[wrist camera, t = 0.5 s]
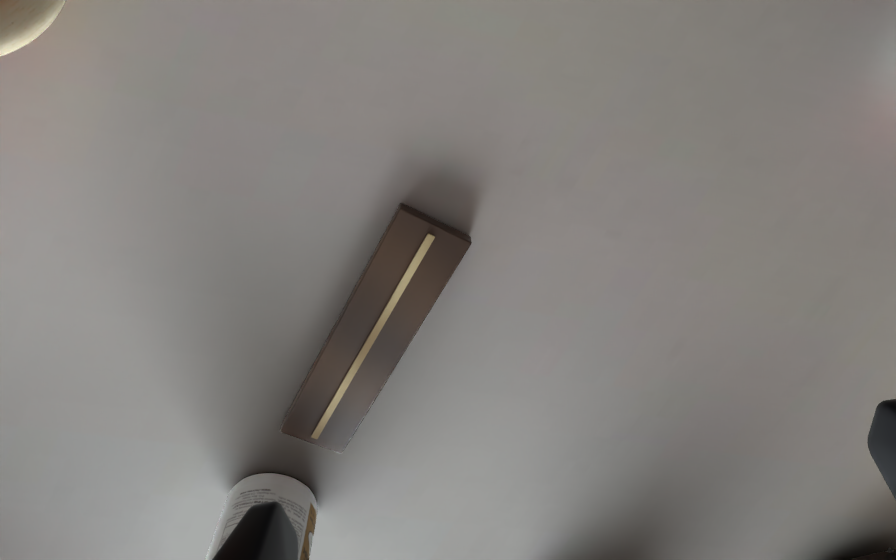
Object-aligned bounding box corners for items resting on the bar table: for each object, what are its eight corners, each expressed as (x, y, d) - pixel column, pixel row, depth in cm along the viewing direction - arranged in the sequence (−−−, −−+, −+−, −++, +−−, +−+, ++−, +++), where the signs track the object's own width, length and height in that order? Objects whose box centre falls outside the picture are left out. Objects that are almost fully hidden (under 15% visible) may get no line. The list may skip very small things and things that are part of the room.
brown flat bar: (343, 445, 28) (341, 455, 27) (282, 422, 27) (278, 433, 27) (470, 236, 23) (472, 243, 22) (400, 201, 22) (399, 208, 22)
